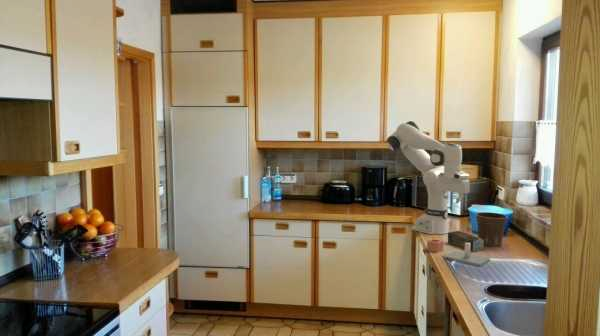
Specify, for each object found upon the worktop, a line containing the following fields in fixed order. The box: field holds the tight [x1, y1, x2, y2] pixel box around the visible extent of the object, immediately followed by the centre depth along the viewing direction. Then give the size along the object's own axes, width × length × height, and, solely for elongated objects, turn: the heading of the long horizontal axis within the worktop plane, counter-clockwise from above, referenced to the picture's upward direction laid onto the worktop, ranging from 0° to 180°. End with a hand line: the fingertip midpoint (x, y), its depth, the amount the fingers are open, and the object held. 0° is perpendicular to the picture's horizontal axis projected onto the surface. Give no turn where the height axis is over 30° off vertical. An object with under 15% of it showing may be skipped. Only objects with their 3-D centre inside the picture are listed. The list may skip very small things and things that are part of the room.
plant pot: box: [475, 211, 509, 247], centre depth 253 cm, size 16×16×16 cm
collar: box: [426, 238, 444, 253], centre depth 240 cm, size 6×6×5 cm
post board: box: [443, 243, 491, 267], centre depth 224 cm, size 18×12×8 cm, turn 47°
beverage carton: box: [447, 230, 485, 252], centre depth 248 cm, size 8×19×7 cm, turn 24°
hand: (451, 200), depth 243 cm, fingers open, 8 cm apart
